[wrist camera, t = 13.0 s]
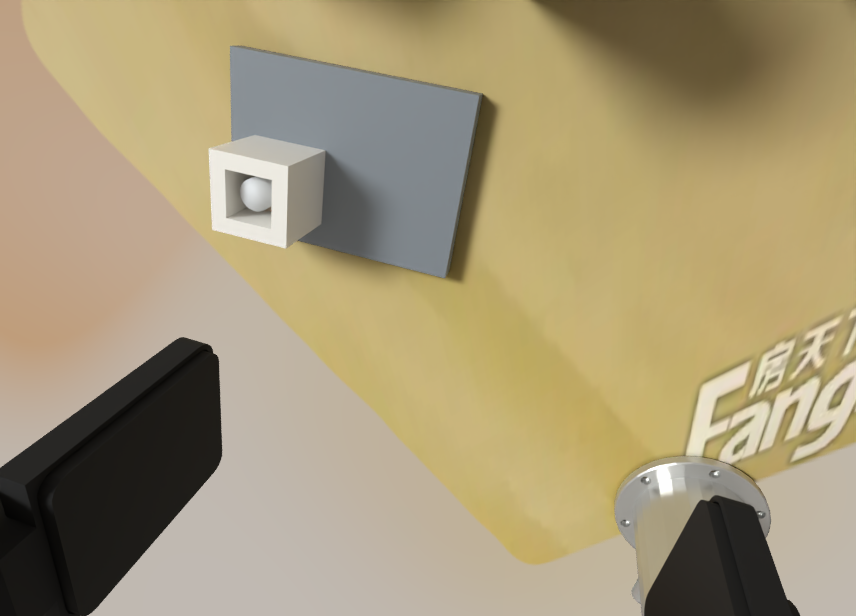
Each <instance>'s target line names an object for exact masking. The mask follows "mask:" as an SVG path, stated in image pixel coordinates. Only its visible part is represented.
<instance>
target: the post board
mask: <svg viewBox="0 0 856 616" xmlns="http://www.w3.org/2000/svg"><path fill="white" fill-rule="evenodd" d="M230 76H231V134H232V141H236V140H239V139H243V138H246V137H249V136H253V135H258V136H262V137H267V138H271V139H276V140H280V141H285V142H290V143H294V144H299V145H303V146H308V147H312V148H317V149H322V150H326V152H325V170H324V187H323V204H322V222H321V225H319V226H318V227H316V228H315V229H313V230H312V231H311V232H309V233H308V234H306V235H305V236H303V237H302V238H300V239H299V240H298V241H301V242H305V243H309V244H313V245H317V246H321V247H325V248H329V249H332V250H336V251H340V252H344V253H348V254H352V255H356V256H360V257H364V258H368V259H371V260H375V261H379V262H383V263H387V264H391V265H395V266H399V267H403V268H407V269H410V270H414V271H418V272H422V273H426V274H430V275H434V276H438V277H442V278H445V277H446V276H447V274H448V272H449V269H450V264H451V259H452V253H453V248H454V243H455V238H456V232H457V227H458V222H459V217H460V212H461V206H462V201H463V196H464V191H465V185H466V180H467V175H468V170H469V164H470V159H471V154H472V149H473V143H474V138H475V133H476V128H477V122H478V117H479V112H480V107H481V101H482V96H483V94H482V93H477V92H472V91H467V90H462V89H457V88H452V87H447V86H442V85H437V84H432V83H427V82H422V81H417V80H412V79H406V78H401V77H396V76H391V75H386V74H381V73H376V72H371V71H366V70H361V69H356V68H351V67H346V66H341V65H336V64H331V63H326V62H321V61H316V60H311V59H306V58H301V57H296V56H291V55H286V54H281V53H276V52H271V51H266V50H261V49H256V48H251V47H246V46H230ZM240 196H241V199H242V201H243V203H244V204H245V205H246V206H247V207H248V208H249V209H251V210H253V211H257V212H260V211H263V210H265V209H267V208H269V207H271V206H272V180H269V179H265V178H261V177H256V176H255V177H252V178H250V179H248V180H246V181H244V182H243V183H242V185H241V188H240ZM270 211H271V210H270Z"/></svg>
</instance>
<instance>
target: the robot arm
mask: <svg viewBox="0 0 856 616" xmlns="http://www.w3.org/2000/svg"><path fill="white" fill-rule="evenodd" d="M221 457H222V435H221V408H220V381H219V359H218V357H217V355H216V354H213V349H212V348H211V346H210V345H208V344H205V343H201V342H198V341H195V340H191V339H188V338H184V337H182V338H179V339H177V340H175V341H174V342H172V343H171V344H169V345H168V346H167V347H165V348H164V349H163V350H161V351H160V352H159V353H157V354H156V355H154V356H153V357H152V358H150V359H149V360H148V361H146V362H145V363H144V364H142V365H141V366H139V367H138V368H137V369H135V370H134V371H132V372H131V373H130V374H128V375H127V376H126V377H124V378H123V379H121V380H120V381H119V382H117V383H116V384H115V385H113V386H112V387H111V388H109V389H108V390H106V391H105V392H104V393H102V394H101V395H100V396H98V397H97V398H96V399H94V400H93V401H92V402H90V403H89V404H87V405H86V406H84V407H83V408H82V409H81V410H79V411H78V412H76V413H75V414H73V415H72V416H71V417H70V418H68V419H67V420H65V421H64V422H62V423H61V424H60V425H58V426H57V427H56V428H54V429H53V430H52V431H50V432H49V433H47V434H46V435H45V436H43V437H42V438H41V439H39V440H38V441H36V442H35V443H34V444H32V445H31V446H30V447H28V448H27V449H25V450H24V451H23V452H21V453H20V454H19V455H17V456H16V457H14V458H13V459H12V460H10V461H9V462H8V463H6V464H5V465H4V466H2V467H1V468H0V616H87V615H89V614H90V613H92V612H93V611H94V610H95V609H96V608H97V607H98V606H99V604H100V603H101V602H102V601H103V600H104V599H105V598H106V596H107V595H108V594H109V593H110V592H111V591H112V589H113V588H114V587H115V586H116V585H117V584H118V582H119V581H120V580H121V579H122V578H123V577H124V576H125V574H126V573H127V572H128V571H129V570H130V569H131V567H132V566H133V565H134V564H135V563H136V562H137V561H138V559H139V558H140V557H141V556H142V555H143V553H145V551H146V550H147V549H148V548H149V547H150V545H151V544H152V543H153V542H154V541H155V540H156V539H157V538H158V536H159V535H160V534H161V533H162V532H163V530H164V529H165V528H166V527H167V526H168V525H169V524H170V523H171V521H172V520H173V519H174V518H175V517H176V516H177V514H178V513H179V512H180V511H181V510H182V509H183V507H184V506H185V505H186V504H187V503H188V501H190V499H191V498H192V497H193V496H194V495H195V494H196V492H197V491H198V490H199V489H200V488H201V487H202V486H203V484H204V483H205V482H206V481H207V480H208V479H209V477H210V476H211V475H212V474H213V473H214V472H215V470H216V469H217V467H218V465H219V463H220V460H221ZM614 510H615V519H616V523H617V526H618V528H619V531H620V532H621V534H622V535H623V537H624V538H625V540H626V541H627V542H628V543H629V544H630V545H631V546H632V547H633V548H635V549H636V556H637V557H636V558H637V569H638V579H637V582H636V583H635V585H634V587H633V589H632V596H633V598H634V599H635V600H636V601H637V602H638V603H640V604H641V613H642V616H800V614H799V612H798V610H797V608H796V607H795V606H794V605H793V603H792V602H791V601H790V600H787V598H786V596H785V593H784V590H783V587H782V584H781V581H780V578H779V576H778V573H777V570H776V567H775V564H774V561H773V559H772V556H771V553H770V550H769V547H768V544H767V541H766V537H767V535H768V533H769V529H770V524H771V517H770V510H769V507H768V504H767V502H766V499H765V497H764V495H763V493H762V491H761V490H760V488H759V487H758V486H757V485H756V483H755V482H754V481H753V480H752V479H751V478H750V477H748V476H747V475H746V474H744V473H743V472H742V471H740V470H738V469H736V468H734V467H732V466H730V465H728V464H726V463H723V462H720V461H717V460H714V459H709V458H703V457H697V456H677V457H668V458H663V459H660V460H656V461H652V462H650V463H648V464H646V465H643V466H641V467H640V468H638V469H637V470H635V471H633V472H632V473H631V474H630V475H629V476H628V477H627V478H626V479H625V480H624V481H623V482H622V484H621V485H620V487H619V489H618V490H617V494H616V497H615V509H614Z"/></svg>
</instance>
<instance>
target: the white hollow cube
mask: <svg viewBox="0 0 856 616" xmlns="http://www.w3.org/2000/svg"><path fill="white" fill-rule="evenodd" d="M325 152H326V150H322V149H317V148H312V147H308V146H303V145H299V144H294V143H290V142H285V141H280V140H276V139H271V138H267V137H262V136H258V135H253V136H249V137H246V138H243V139H239V140H236V141H232V142H229V143H225V144H222V145H219V146H215V147H212V148H209V166H210V189H211V212H212V230H215V231H219V232H223V233H227V234H231V235H235V236H239V237H243V238H247V239H251V240H255V241H259V242H263V243H267V244H271V245H274V246H278V247H282V248H287V247H289V246H290V245H292V244H293V243H295V242H296V241H298V240H299V239H300V238H302V237H303V236H305V235H306V234H308V233H309V232H311V231H312V230H313V229H315V228H316V227H318V226H319V225H321V222H322V204H323V187H324V170H325ZM255 176H256V177H261V178H265V179H269V180H272V206H271V207H269V208H267V209H265V210H263V211H260V212H257V211H253V210H251V209H249V208H248V207H247V206H246V205H245V204H244V203H243V201H242V199H241V196H240V188H241V185H242V183H243V182H244V181H246V180H248V179H250V178H252V177H255ZM270 210H271V211H270Z"/></svg>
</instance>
